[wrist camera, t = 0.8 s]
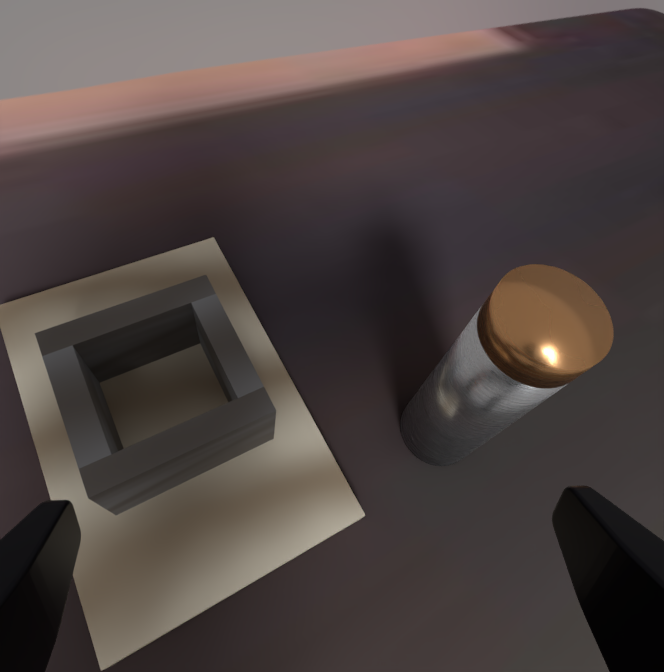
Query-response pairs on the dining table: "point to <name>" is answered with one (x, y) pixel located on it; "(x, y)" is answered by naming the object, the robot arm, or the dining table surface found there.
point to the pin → (507, 362)
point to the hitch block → (169, 440)
